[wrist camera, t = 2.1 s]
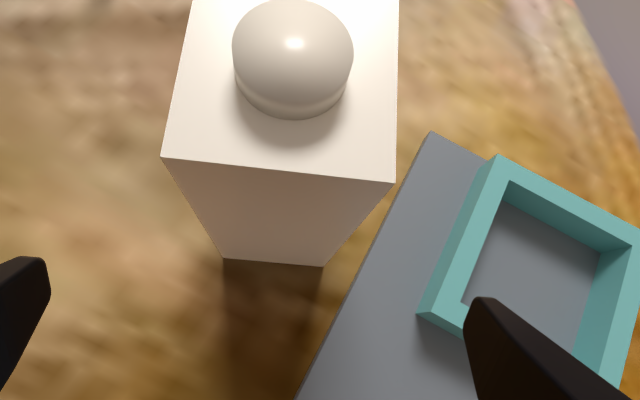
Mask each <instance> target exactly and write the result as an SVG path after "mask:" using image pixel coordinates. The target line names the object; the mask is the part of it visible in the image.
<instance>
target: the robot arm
mask: <svg viewBox="0 0 640 400" xmlns="http://www.w3.org/2000/svg"><path fill="white" fill-rule="evenodd" d="M50 297H51V287H50V282H49V277H48V272H47V267H46V263H45V261H44V260H43V259H42V258H39V257H28V256H19V257H16V258H13V259H11V260H9V261H6V262H4V263H2V264H0V391H1V390H2V388H3V387H4V385H5V383H6V382H7V380H8V379H9V377H10V375H11V374H12V372H13V371H14V369H15V367H16V365H17V363H18V361H19V360H20V358H21V356H22V354H23V352H24V350H25V348H26V346H27V344H28V342H29V340H30V338H31V336H32V334H33V332H34V330H35V328H36V326H37V324H38V322H39V320H40V318H41V316H42V315H43V313H44V311H45V309H46V307H47V305H48V303H49V300H50ZM462 331H463V338H464V342H465V346H466V351H467V355H468V360H469V364H470V369H471V373H472V377H473V382H474V386H475V390H476V394H477V398H478V400H632V399H630V398H629V397H628V396H626V395H625V394H624V393H622V392H621V391H620V390H618V389H617V388H616V387H614V386H613V385H611V384H610V383H609V382H607V381H606V380H605V379H603V378H602V377H601V376H599V375H598V374H597V373H595V372H594V371H593V370H591V369H590V368H589V367H587V366H586V365H585V364H583V363H582V362H580V361H579V360H578V359H576V358H575V357H574V356H572V355H571V354H570V353H568V352H567V351H566V350H564V349H563V348H562V347H560V346H559V345H558V344H556V343H555V342H553V341H552V340H551V339H549V338H548V337H547V336H545V335H544V334H543V333H541V332H540V331H539V330H537V329H536V328H535V327H533V326H532V325H531V324H529V323H528V322H527V321H525V320H524V319H522V318H521V317H520V316H518V315H517V314H516V313H514V312H513V311H512V310H510V309H509V308H508V307H506V306H505V305H504V304H502V303H501V302H500V301H498V300H497V299H495V298H493V297H483V296H477V297H475V298H474V299H473V300H472V302H471V305H470V308H469V310H468V313H467V315H466V318H465V320H464V323H463V330H462Z"/></svg>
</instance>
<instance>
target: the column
mask: <svg viewBox="0 0 640 400" xmlns="http://www.w3.org/2000/svg"><path fill="white" fill-rule="evenodd" d="M398 17H399V0H193V2H192V6H191V11H190V16H189V21H188V25H187V30H186V35H185V40H184V44H183V49H182V54H181V59H180V63H179V68H178V73H177V78H176V82H175V87H174V92H173V97H172V101H171V106H170V111H169V116H168V120H167V125H166V130H165V135H164V139H163V144H162V149H161V154H160V158H161V159H162V161H163V163H164V164H165V166H166V167H167V169H168V171H169V172H170V174H171V175H172V177H173V179H174V180H175V182H176V183H177V185H178V187H179V188H180V190H181V191H182V193H183V195H184V196H185V198H186V199H187V201H188V203H189V204H190V206H191V207H192V209H193V211H194V212H195V214H196V215H197V217H198V219H199V220H200V222H201V223H202V225H203V227H204V228H205V230H206V231H207V233H208V235H209V236H210V238H211V239H212V241H213V243H214V244H215V246H216V247H217V249H218V251H219V252H220V254H221V255H222V257H223V258H230V259H241V260H252V261H263V262H274V263H284V264H295V265H306V266H317V267H324V266H325V265H326V264H327V263H328V261H329V260H330V259H331V258H332V257H333V255H334V254H335V253H336V252H337V251H338V250H339V248H340V247H341V246H342V245H343V244H344V243H345V241H346V240H347V239H348V238H349V237H350V236H351V234H352V233H353V232H354V231H355V230H356V229H357V227H358V226H359V225H360V224H361V223H362V222H363V220H364V219H365V218H366V217H367V216H368V215H369V213H370V212H371V211H372V210H373V209H374V208H375V206H376V205H377V204H378V203H379V202H380V201H381V199H382V198H383V197H384V196H385V195H386V194H387V192H388V191H389V190H390V189H391V188H392V187H393V185H394V184H395V178H396V124H397V71H398Z"/></svg>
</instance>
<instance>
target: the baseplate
mask: <svg viewBox="0 0 640 400" xmlns="http://www.w3.org/2000/svg"><path fill="white" fill-rule="evenodd" d="M477 296H483V297H493V298H495V299H497V300H498V301H500V302H501V303H502V304H504V305H505V306H506V307H508V308H509V309H510V310H512V311H513V312H514V313H516V314H517V315H518V316H520V317H521V318H522V319H524V320H525V321H527V322H528V323H529V324H531V325H532V326H533V327H535V328H536V329H537V330H539V331H540V332H541V333H543V334H544V335H545V336H547V337H548V338H549V339H551V340H552V341H553V342H555V343H556V344H558V345H559V346H560V347H562V348H563V349H564V350H566V351H567V352H568V353H570V354H571V355H572V356H574V357H575V358H576V359H578V360H579V361H580V362H582V363H583V364H585V365H586V366H587V367H589V368H590V369H591V370H593V371H594V372H595V373H597V374H598V375H599V376H601V377H602V378H603V379H605V380H606V381H607V382H609V383H610V384H611V385H613V386H614V387H616V388H617V389H619V385H620V381H621V377H622V373H623V369H624V365H625V361H626V357H627V353H628V349H629V345H630V341H631V337H632V333H633V329H634V325H635V321H636V317H637V313H638V309H639V305H640V229H638V228H636V227H634V226H633V225H631V224H629V223H627V222H625V221H623V220H621V219H619V218H618V217H616V216H614V215H612V214H610V213H608V212H606V211H604V210H603V209H601V208H599V207H597V206H595V205H593V204H591V203H589V202H588V201H586V200H584V199H582V198H580V197H578V196H576V195H575V194H573V193H571V192H569V191H567V190H565V189H563V188H561V187H560V186H558V185H556V184H554V183H552V182H550V181H548V180H546V179H545V178H543V177H541V176H539V175H537V174H535V173H533V172H531V171H530V170H528V169H526V168H524V167H522V166H520V165H518V164H516V163H515V162H513V161H511V160H509V159H507V158H505V157H503V156H501V155H500V154H496V155H495V156H494V157H493V158H491V159H490V160H489V161H487V160H485V159H483V158H481V157H480V156H478V155H476V154H474V153H472V152H470V151H468V150H466V149H465V148H463V147H461V146H459V145H457V144H455V143H453V142H451V141H450V140H448V139H446V138H444V137H442V136H440V135H438V134H437V133H435V132H433V131H430V132H429V133H428V135H427V136H426V137H425V138H424V140H423V142H422V144H421V146H420V148H419V150H418V152H417V154H416V156H415V158H414V160H413V162H412V164H411V166H410V168H409V170H408V172H407V174H406V176H405V178H404V180H403V182H402V184H401V186H400V188H399V190H398V192H397V194H396V196H395V198H394V200H393V202H392V204H391V206H390V208H389V210H388V212H387V214H386V216H385V218H384V220H383V222H382V224H381V226H380V228H379V230H378V232H377V234H376V236H375V238H374V240H373V242H372V244H371V246H370V248H369V250H368V252H367V254H366V256H365V258H364V260H363V262H362V264H361V266H360V268H359V270H358V272H357V274H356V276H355V278H354V280H353V282H352V284H351V285H350V287H349V289H348V291H347V293H346V295H345V297H344V299H343V301H342V303H341V305H340V307H339V309H338V311H337V313H336V315H335V317H334V319H333V321H332V323H331V325H330V327H329V329H328V331H327V333H326V335H325V337H324V339H323V341H322V343H321V345H320V347H319V349H318V351H317V353H316V355H315V357H314V359H313V361H312V363H311V365H310V367H309V369H308V371H307V373H306V375H305V377H304V379H303V381H302V383H301V385H300V387H299V389H298V391H297V393H296V395H295V397H294V399H293V400H478V398H477V394H476V390H475V386H474V382H473V377H472V373H471V369H470V364H469V360H468V355H467V351H466V346H465V342H464V338H463V331H462V330H463V323H464V320H465V318H466V315H467V313H468V310H469V308H470V305H471V302H472V300H473V299H474V298H475V297H477Z"/></svg>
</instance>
